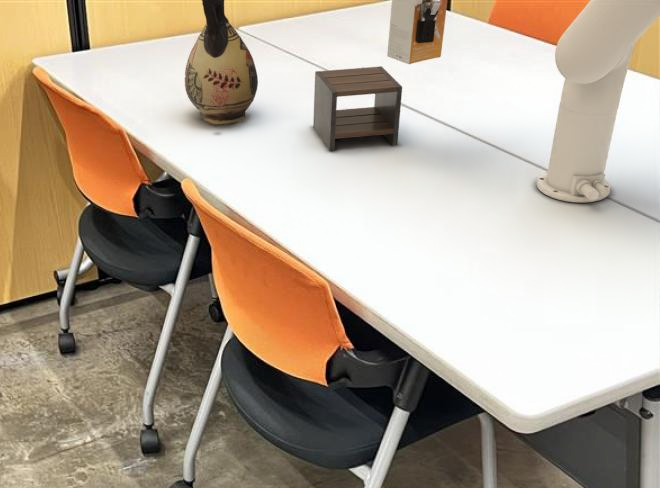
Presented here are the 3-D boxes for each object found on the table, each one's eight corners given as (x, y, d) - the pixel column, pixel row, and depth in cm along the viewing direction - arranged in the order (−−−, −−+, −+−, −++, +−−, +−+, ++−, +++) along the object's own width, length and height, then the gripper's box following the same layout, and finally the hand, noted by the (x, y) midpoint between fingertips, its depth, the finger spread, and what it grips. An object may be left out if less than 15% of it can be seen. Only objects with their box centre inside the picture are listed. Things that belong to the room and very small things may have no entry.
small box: (409, 65, 179) (416, -8, 171) (386, 56, 183) (391, -16, 176) (442, 57, 182) (450, -15, 175) (418, 49, 187) (425, -22, 180)
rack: (397, 145, 196) (402, 86, 190) (329, 151, 194) (332, 92, 188) (377, 122, 207) (381, 66, 200) (313, 127, 205) (315, 71, 199)
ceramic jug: (198, 102, 220) (194, -38, 203) (265, 108, 215) (266, -34, 199) (173, 129, 206) (166, -18, 190) (244, 136, 202) (243, -14, 186)
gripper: (389, -74, 178) (381, 23, 187) (422, -54, 163) (412, 50, 173) (428, -76, 178) (419, 21, 188) (465, -57, 164) (453, 47, 174)
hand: (416, 34), depth 180 cm, fingers closed on small box, 8 cm apart
